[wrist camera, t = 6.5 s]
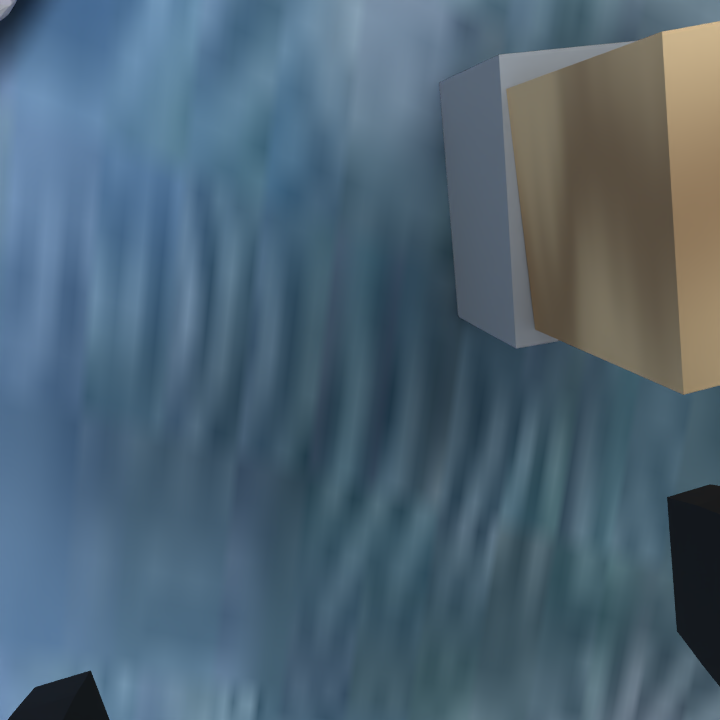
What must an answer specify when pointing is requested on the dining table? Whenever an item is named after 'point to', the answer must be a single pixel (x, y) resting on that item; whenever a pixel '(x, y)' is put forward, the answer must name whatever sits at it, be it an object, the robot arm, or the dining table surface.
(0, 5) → the stone block
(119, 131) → the dining table surface
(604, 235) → the wooden cube
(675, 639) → the dining table surface
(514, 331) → the grey block
